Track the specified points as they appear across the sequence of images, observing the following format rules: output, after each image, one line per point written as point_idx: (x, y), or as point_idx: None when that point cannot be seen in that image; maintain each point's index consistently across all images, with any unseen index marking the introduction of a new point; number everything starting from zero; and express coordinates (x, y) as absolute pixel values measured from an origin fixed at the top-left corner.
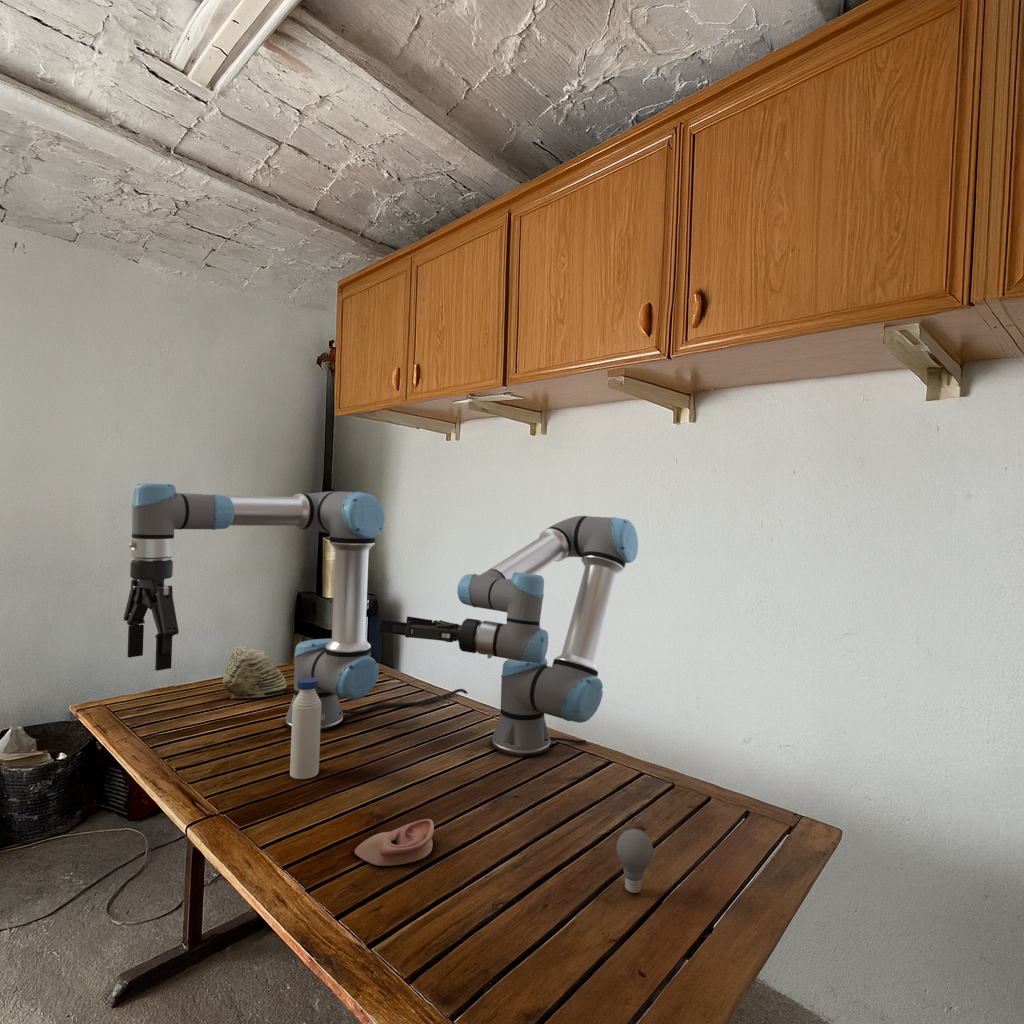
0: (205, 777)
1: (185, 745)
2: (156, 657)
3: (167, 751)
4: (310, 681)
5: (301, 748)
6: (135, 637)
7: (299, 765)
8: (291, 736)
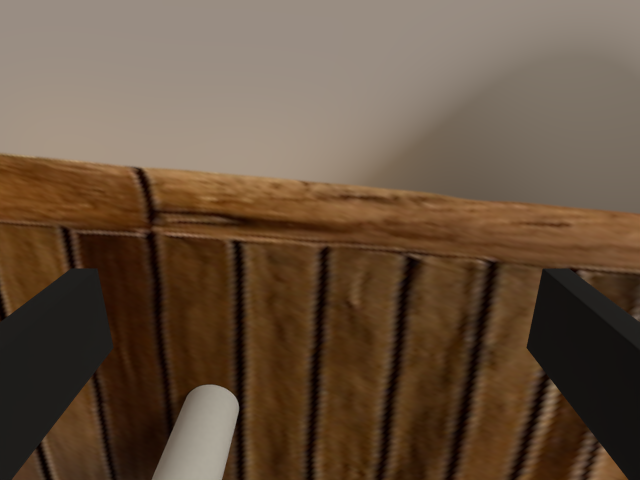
0: (328, 281)
1: (522, 322)
2: (26, 314)
3: (522, 284)
4: None
5: (172, 437)
6: (628, 400)
7: (186, 408)
8: (201, 450)
